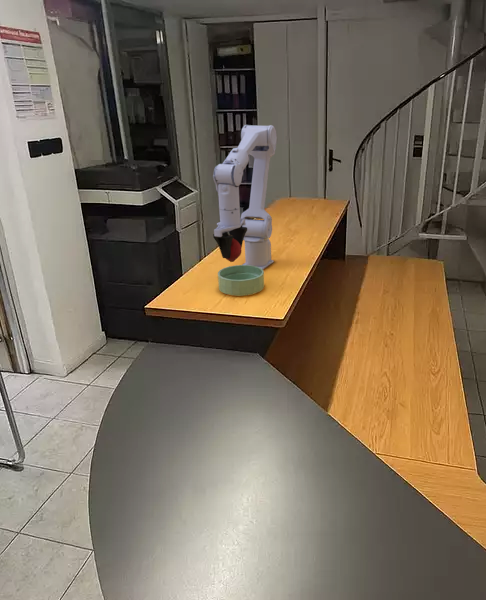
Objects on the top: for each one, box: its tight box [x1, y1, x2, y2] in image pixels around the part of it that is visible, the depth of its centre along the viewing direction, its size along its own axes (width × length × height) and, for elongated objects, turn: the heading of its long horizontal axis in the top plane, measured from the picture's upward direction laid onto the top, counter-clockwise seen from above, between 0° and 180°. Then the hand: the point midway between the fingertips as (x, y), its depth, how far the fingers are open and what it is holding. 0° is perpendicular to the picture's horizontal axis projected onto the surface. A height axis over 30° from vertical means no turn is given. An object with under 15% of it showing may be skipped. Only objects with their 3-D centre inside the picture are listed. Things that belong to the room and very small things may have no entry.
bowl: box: [217, 264, 265, 297], centre depth 141 cm, size 13×13×5 cm
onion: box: [225, 238, 242, 263], centre depth 140 cm, size 6×6×8 cm
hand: (231, 254), depth 141 cm, fingers closed on onion, 6 cm apart
